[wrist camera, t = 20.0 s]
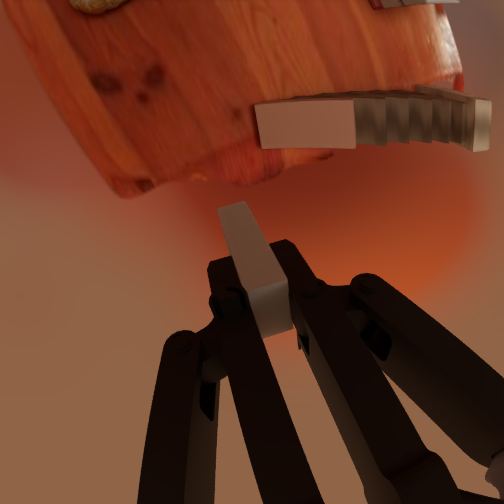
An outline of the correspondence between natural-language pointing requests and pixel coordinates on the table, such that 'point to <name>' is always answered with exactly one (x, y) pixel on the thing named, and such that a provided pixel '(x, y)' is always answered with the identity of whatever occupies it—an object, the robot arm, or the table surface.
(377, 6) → the ink box
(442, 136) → the domino
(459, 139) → the domino
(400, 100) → the domino
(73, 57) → the table surface
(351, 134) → the domino
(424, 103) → the domino
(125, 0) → the fruit
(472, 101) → the bookend block
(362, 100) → the domino
